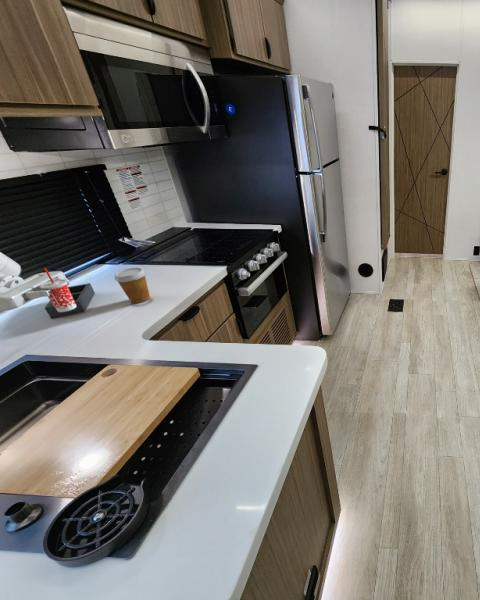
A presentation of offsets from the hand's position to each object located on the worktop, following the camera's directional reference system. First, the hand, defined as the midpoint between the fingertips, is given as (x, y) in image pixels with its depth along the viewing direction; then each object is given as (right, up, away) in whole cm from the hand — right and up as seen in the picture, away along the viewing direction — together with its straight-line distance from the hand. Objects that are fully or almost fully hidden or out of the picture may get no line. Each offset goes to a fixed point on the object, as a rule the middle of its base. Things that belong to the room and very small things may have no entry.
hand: (58, 287), depth 103 cm
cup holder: (-20, -6, +25) cm, 32 cm away
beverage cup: (-1, -7, +4) cm, 8 cm away
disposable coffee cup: (+3, -4, +29) cm, 29 cm away
